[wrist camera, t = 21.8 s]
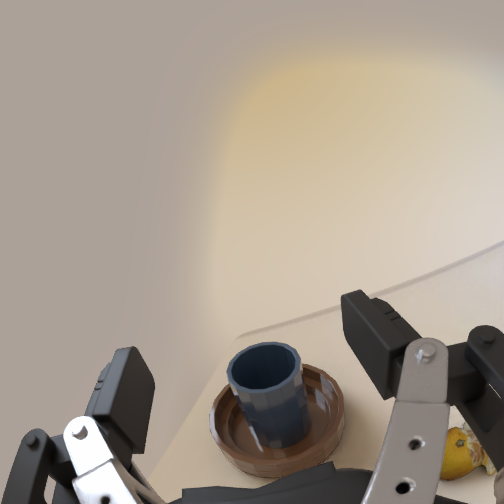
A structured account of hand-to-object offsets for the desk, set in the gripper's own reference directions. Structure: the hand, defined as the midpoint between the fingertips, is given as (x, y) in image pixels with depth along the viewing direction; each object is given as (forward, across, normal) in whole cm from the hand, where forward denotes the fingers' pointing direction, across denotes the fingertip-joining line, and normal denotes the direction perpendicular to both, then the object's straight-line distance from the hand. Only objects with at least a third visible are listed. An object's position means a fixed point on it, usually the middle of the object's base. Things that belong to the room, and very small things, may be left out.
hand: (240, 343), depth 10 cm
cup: (+11, 0, +21) cm, 24 cm away
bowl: (+11, 0, +22) cm, 25 cm away
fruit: (-2, -17, +22) cm, 28 cm away
